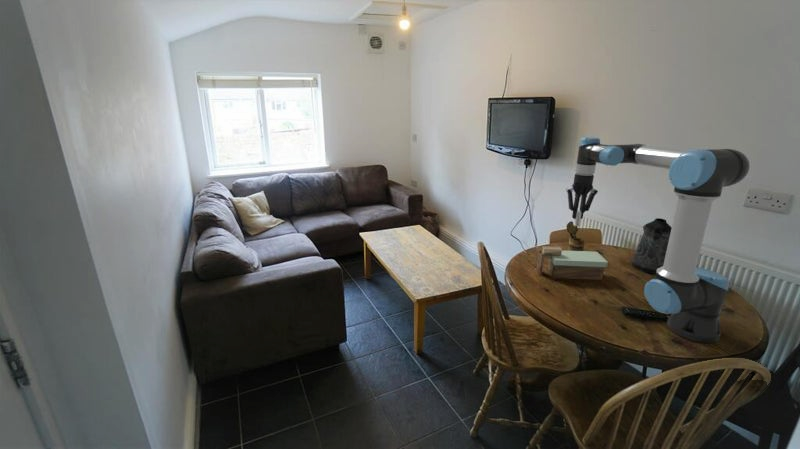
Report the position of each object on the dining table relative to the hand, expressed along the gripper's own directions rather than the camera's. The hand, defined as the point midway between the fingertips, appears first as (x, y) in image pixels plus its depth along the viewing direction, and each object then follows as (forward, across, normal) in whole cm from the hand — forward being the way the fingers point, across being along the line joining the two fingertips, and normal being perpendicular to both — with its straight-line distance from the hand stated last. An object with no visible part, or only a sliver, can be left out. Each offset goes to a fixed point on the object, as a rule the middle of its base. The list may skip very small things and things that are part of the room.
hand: (576, 225), depth 171 cm
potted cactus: (+25, -8, -20) cm, 33 cm away
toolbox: (+24, 0, 0) cm, 24 cm away
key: (+14, +9, 0) cm, 17 cm away
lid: (+17, -2, 0) cm, 18 cm away
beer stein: (+25, -42, -10) cm, 50 cm away
